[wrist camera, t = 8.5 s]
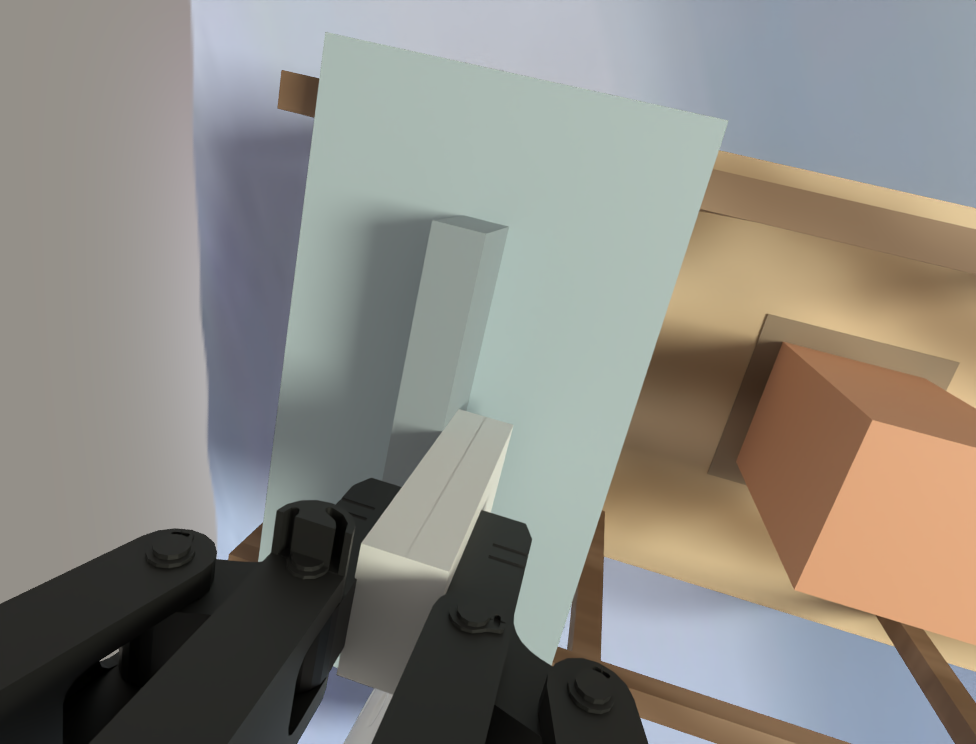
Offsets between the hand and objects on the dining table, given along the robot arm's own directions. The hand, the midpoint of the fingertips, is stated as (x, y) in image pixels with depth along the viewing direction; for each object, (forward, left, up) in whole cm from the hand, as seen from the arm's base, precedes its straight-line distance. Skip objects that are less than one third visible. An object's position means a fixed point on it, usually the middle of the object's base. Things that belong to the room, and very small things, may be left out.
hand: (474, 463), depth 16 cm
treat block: (0, -13, -14) cm, 19 cm away
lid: (0, +1, -2) cm, 3 cm away
